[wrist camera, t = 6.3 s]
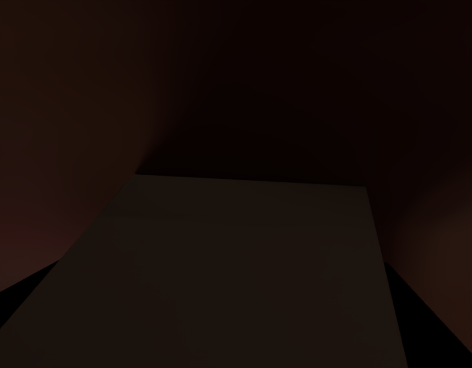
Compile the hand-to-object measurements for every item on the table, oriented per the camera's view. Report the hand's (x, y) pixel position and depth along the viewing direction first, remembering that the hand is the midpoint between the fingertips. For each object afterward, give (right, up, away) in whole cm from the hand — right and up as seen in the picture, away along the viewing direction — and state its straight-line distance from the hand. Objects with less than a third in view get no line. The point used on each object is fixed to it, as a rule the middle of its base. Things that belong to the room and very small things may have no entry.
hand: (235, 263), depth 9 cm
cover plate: (0, -5, +4) cm, 7 cm away
